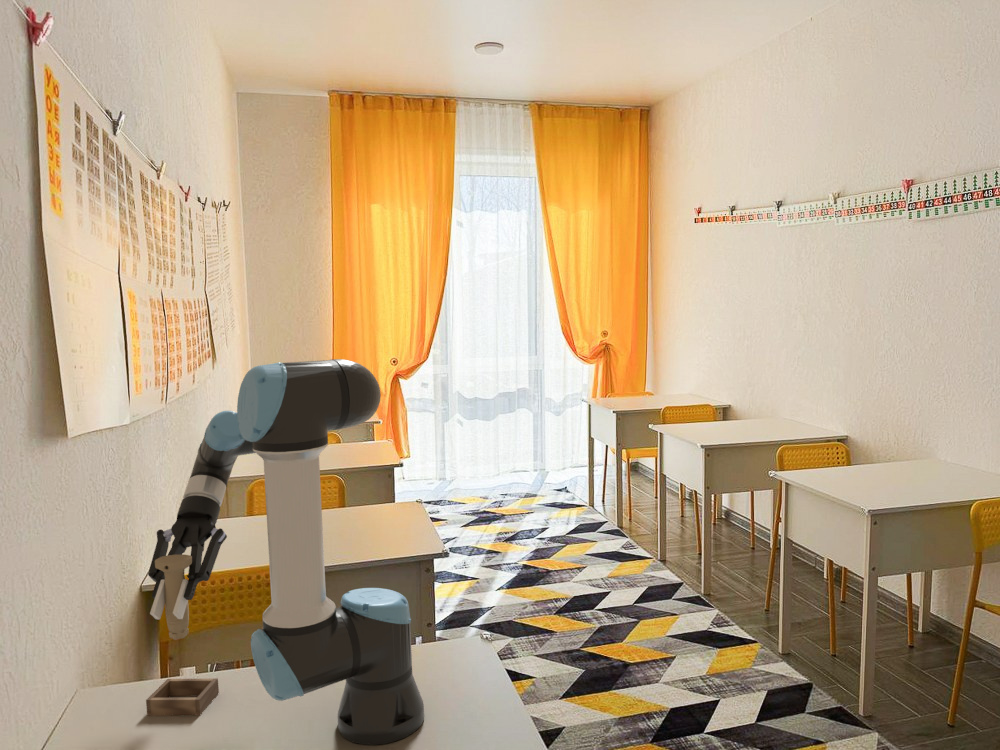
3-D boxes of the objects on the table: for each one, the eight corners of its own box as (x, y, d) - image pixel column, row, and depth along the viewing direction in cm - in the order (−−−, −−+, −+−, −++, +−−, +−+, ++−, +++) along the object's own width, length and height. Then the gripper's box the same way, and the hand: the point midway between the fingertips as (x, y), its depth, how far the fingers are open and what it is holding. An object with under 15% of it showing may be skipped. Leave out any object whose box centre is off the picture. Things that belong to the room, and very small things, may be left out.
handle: (188, 642, 134) (182, 563, 133) (155, 642, 135) (149, 563, 134) (201, 631, 139) (196, 554, 138) (170, 630, 140) (164, 554, 139)
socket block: (218, 693, 141) (217, 678, 141) (200, 715, 134) (199, 699, 133) (168, 693, 142) (167, 678, 142) (147, 715, 134) (146, 700, 134)
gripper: (247, 511, 150) (218, 623, 135) (169, 513, 151) (131, 624, 136) (235, 492, 145) (203, 607, 129) (154, 494, 145) (112, 608, 130)
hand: (166, 616), depth 133 cm, fingers closed on handle, 3 cm apart
